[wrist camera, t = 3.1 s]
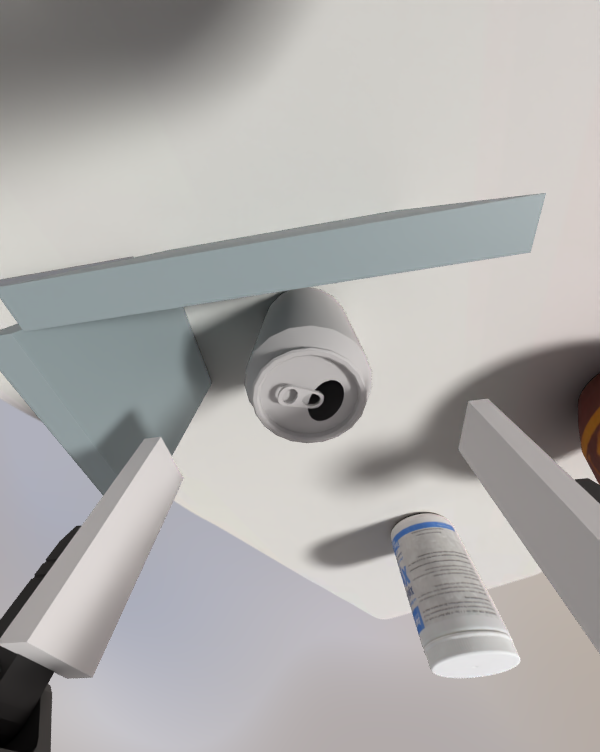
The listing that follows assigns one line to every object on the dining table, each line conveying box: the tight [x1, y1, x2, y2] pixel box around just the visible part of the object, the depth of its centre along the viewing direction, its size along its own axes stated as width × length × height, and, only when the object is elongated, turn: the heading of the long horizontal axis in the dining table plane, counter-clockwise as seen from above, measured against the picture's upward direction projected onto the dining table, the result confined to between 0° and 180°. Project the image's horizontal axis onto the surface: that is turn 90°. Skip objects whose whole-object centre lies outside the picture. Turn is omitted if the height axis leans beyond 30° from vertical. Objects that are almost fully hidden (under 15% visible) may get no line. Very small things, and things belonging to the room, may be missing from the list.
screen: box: [0, 193, 546, 496], centre depth 18 cm, size 13×20×14 cm, turn 99°
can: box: [245, 287, 372, 443], centre depth 19 cm, size 8×8×12 cm
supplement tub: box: [391, 513, 520, 678], centre depth 35 cm, size 10×10×15 cm
